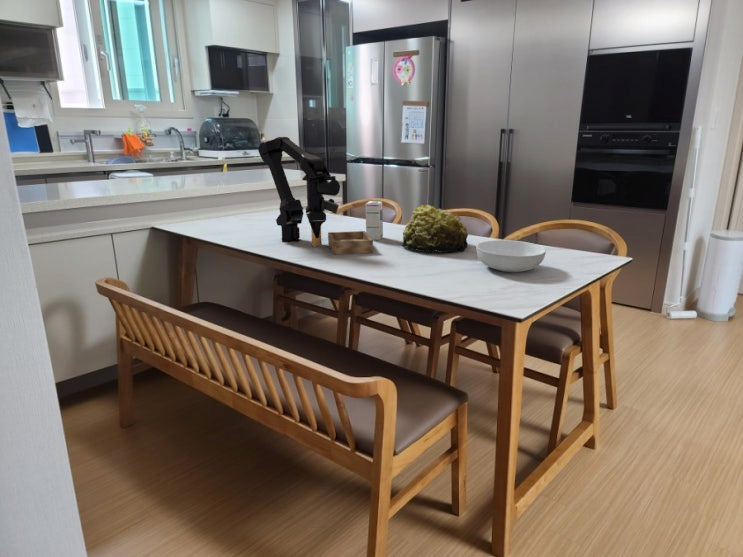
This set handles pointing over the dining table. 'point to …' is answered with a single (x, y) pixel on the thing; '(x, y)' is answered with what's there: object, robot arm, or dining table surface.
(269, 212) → the dining table surface
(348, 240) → the crate
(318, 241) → the peg
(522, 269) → the serving bowl
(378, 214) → the syrup box
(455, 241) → the lumpy green mound
